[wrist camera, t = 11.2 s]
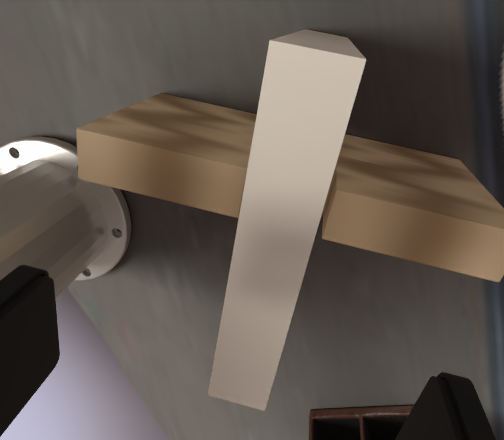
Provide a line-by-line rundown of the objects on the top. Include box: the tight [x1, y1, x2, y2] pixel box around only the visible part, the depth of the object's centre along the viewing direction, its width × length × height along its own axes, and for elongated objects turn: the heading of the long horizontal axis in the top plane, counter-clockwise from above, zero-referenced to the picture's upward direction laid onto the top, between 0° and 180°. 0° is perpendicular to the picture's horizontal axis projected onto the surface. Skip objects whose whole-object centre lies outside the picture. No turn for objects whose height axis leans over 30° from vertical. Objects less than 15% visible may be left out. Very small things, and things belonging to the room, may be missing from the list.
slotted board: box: [76, 93, 504, 282], centre depth 22 cm, size 20×2×10 cm, turn 80°
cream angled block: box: [208, 29, 366, 411], centre depth 20 cm, size 14×2×15 cm, turn 170°
